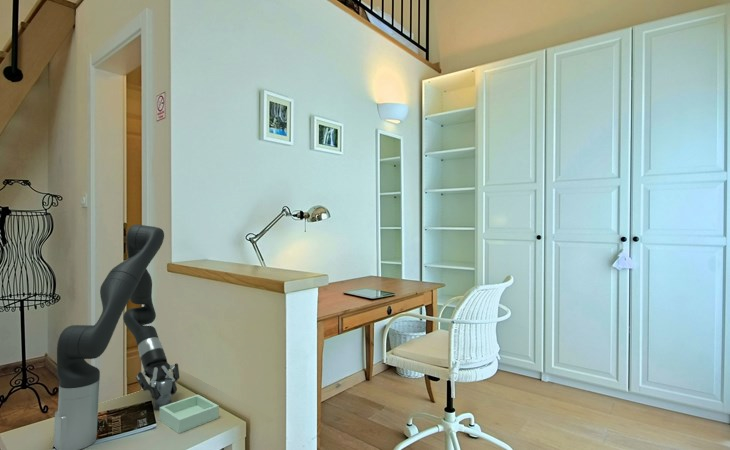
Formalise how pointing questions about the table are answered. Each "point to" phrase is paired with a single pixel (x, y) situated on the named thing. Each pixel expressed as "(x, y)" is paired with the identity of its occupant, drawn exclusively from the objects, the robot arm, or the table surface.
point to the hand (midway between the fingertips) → (165, 395)
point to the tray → (188, 413)
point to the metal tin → (163, 392)
